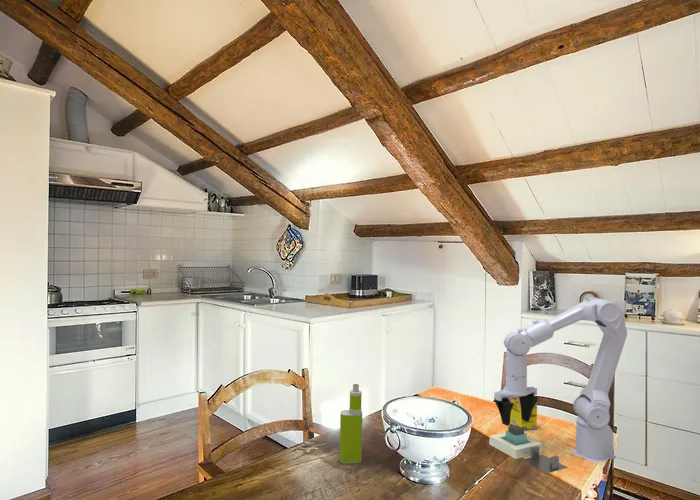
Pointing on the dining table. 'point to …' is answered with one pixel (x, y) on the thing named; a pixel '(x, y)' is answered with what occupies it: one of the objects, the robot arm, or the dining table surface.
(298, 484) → the dining table surface
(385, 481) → the dining table surface
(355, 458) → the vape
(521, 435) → the plug
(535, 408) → the supplement box
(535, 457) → the grey socket plate
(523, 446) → the port
